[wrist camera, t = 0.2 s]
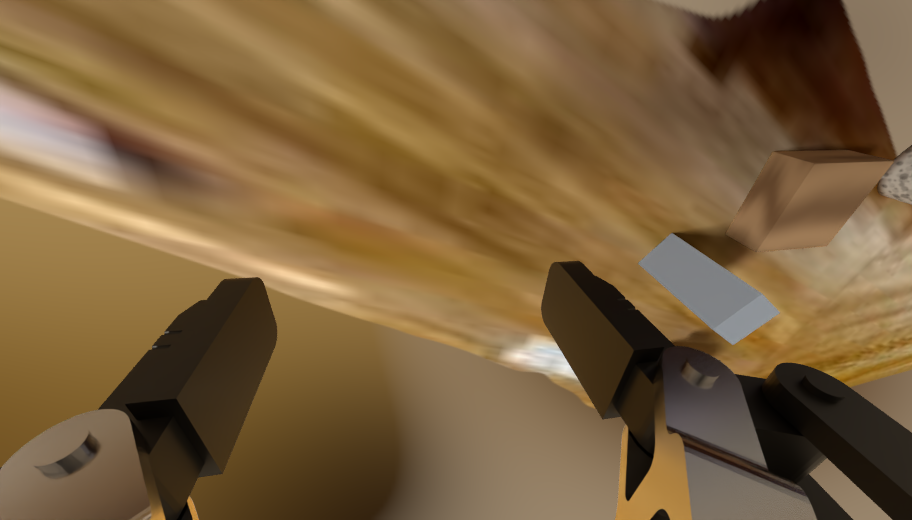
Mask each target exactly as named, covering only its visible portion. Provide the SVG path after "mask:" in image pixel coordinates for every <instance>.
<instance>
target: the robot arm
mask: <svg viewBox="0 0 912 520" xmlns="http://www.w3.org/2000/svg"><path fill="white" fill-rule="evenodd" d="M541 311H542V317H543V321H544V323H545V325H546V327H547V328H548V330H549V331H550V333H551V335H552V336H553V338H554V340H555V341H556V343H557V345H558V346H559V348H560V350H561V351H562V353H563V355H564V356H565V358H566V360H567V361H568V363H569V365H570V366H571V368H572V370H573V371H574V373H575V374H576V376H577V378H578V379H579V381H580V383H581V384H582V386H583V388H584V389H585V391H586V393H587V394H588V396H589V398H590V399H591V401H592V403H593V404H594V406H595V408H596V409H597V411H598V413H599V414H600V416H601V417H602V419H608V418H615V417H622V419H623V420H624V422H625V423H626V425H625V427H624V429H623V432H622V444H621V459H620V475H619V490H618V491H619V492H618V505H617V511H616V517H615V520H853V519H852V518H851V517H850V516H849V515H848V514H847V513H846V512H845V511H844V510H843V509H842V508H841V507H840V506H839V505H838V504H837V502H836V501H835V500H833V498H832V497H831V496H830V495H829V494H828V493H827V492H825V490H824V489H823V488H822V487H821V486H820V485H819V484H818V483H817V482H816V481H815V480H814V479H813V478H812V477H811V476H810V475H809V473H810V472H811V471H813V470H814V469H815V468H816V467H817V466H818V465H820V463H822V462H823V461H824V460H825V459H826V458H828V459H829V460H830V461H831V462H832V463H833V464H834V465H835V466H836V467H837V468H838V469H839V470H841V471H842V472H843V473H844V474H845V475H846V476H847V477H848V478H849V479H850V480H851V481H852V482H853V483H854V484H856V486H857V487H859V488H860V489H861V490H862V491H863V492H864V493H865V494H866V495H867V496H868V497H869V498H870V499H871V500H873V502H875V503H876V504H877V505H878V506H879V507H880V508H881V509H882V510H883V511H884V512H885V513H886V514H887V515H888V516H890V518H891V519H892V520H912V433H911V432H910V431H909V430H907V429H906V428H904V427H903V426H902V425H900V424H899V423H898V422H896V421H895V420H893V419H892V418H891V417H889V416H888V415H887V414H885V413H884V412H883V411H881V410H880V409H878V408H877V407H876V406H874V405H873V404H872V403H870V402H869V401H868V400H866V399H864V398H863V397H862V396H861V395H859V394H858V393H857V392H855V391H854V390H852V389H851V388H850V387H848V386H847V385H845V384H844V383H842V382H841V381H839V380H837V379H836V378H834V377H832V376H830V375H828V374H826V373H824V372H821V371H819V370H817V369H814V368H811V367H808V366H805V365H801V364H796V363H781V364H779V365H777V366H776V368H775V369H774V370H773V371H772V373H771V374H770V375H769V376H768V378H767V379H763V378H757V377H750V376H744V375H737V374H734V373H733V372H732V371H731V370H730V369H729V368H728V367H727V366H726V365H724V364H723V363H722V362H720V361H719V360H717V359H716V358H714V357H712V356H711V355H709V354H706V353H704V352H702V351H699V350H696V349H693V348H689V347H683V346H674V345H673V344H672V343H671V342H670V341H669V340H668V339H667V338H666V337H665V336H664V335H663V334H662V333H661V332H660V331H659V330H658V329H657V328H656V327H655V326H654V325H653V324H652V323H651V322H650V321H649V320H648V319H647V318H646V317H645V316H644V315H643V314H642V313H641V312H640V311H639V310H635V307H634V306H633V305H632V304H631V303H630V302H629V301H628V300H625V297H624V296H623V295H622V294H621V293H620V292H619V291H618V290H617V289H616V288H615V287H614V286H613V285H611V284H609V283H608V282H606V281H604V280H602V279H601V278H599V277H597V276H594V275H593V274H592V272H591V271H590V270H589V269H588V268H587V267H586V266H585V265H584V264H583V263H581V262H580V261H568V262H554V263H553V264H552V265H551V267H550V269H549V274H548V278H547V282H546V287H545V291H544V295H543V300H542V305H541ZM276 340H277V326H276V322H275V318H274V315H273V312H272V308H271V305H270V302H269V299H268V295H267V292H266V289H265V286H264V283H263V281H262V280H261V279H260V278H258V277H255V278H236V279H224V280H223V281H221V282H220V284H219V285H218V286H217V288H216V289H215V290H214V292H213V293H212V294H211V295H210V296H209V298H208V299H207V300H201V301H199V302H197V303H196V304H194V305H193V306H191V307H190V308H188V309H187V310H185V311H184V312H183V313H181V314H180V315H178V316H177V318H176V319H175V320H174V321H173V322H172V324H171V325H170V326H169V327H168V328H167V329H166V331H165V334H164V335H161V336H160V338H159V339H158V340H157V341H156V342H155V343H154V345H153V346H152V350H149V351H148V352H147V353H146V354H145V355H144V356H143V357H142V359H141V360H140V361H139V362H138V363H137V365H136V366H135V367H134V368H133V369H132V370H131V372H130V373H129V374H128V375H127V376H126V377H125V379H124V380H123V381H122V382H121V383H120V384H119V385H118V387H117V388H116V389H115V390H114V391H113V393H112V394H111V395H110V396H109V397H108V398H107V400H106V401H105V402H104V403H103V404H102V405H101V407H100V408H99V409H98V410H95V411H91V412H87V413H84V414H81V415H78V416H75V417H72V418H70V419H68V420H65V421H63V422H61V423H59V424H57V425H55V426H53V427H51V428H50V429H48V430H46V431H44V432H43V433H41V434H40V435H38V436H37V437H35V438H34V439H32V440H31V441H30V442H28V443H27V444H26V445H24V446H23V447H22V448H21V449H19V450H18V451H17V452H16V453H15V454H14V455H13V456H12V457H11V458H10V459H9V460H8V461H7V462H6V463H5V464H4V465H3V467H1V468H0V520H199V519H198V516H197V512H196V509H195V506H194V503H193V501H192V499H191V498H190V496H189V495H190V493H191V491H192V489H193V487H194V485H195V482H196V481H197V478H198V477H204V476H211V475H218V474H223V471H224V469H225V466H226V464H227V462H228V459H229V457H230V455H231V452H232V450H233V447H234V445H235V442H236V440H237V438H238V435H239V433H240V430H241V428H242V426H243V423H244V421H245V418H246V416H247V413H248V411H249V409H250V406H251V404H252V401H253V399H254V396H255V394H256V391H257V389H258V387H259V384H260V382H261V379H262V377H263V374H264V372H265V370H266V367H267V365H268V363H269V360H270V358H271V355H272V353H273V350H274V348H275V345H276Z"/></svg>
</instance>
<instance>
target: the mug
mask: <svg viewBox="0 0 912 520" xmlns="http://www.w3.org/2000/svg"><path fill="white" fill-rule="evenodd" d="M877 190H878V193H879V194H881V195H883V196H886V197H889V198H893V199H896V200H899V201H902V202H905V203H908V204H912V145H911V146H910V147H908V148H907V149H906V150H904V151H903V152H902V153H901V154H900V155H898V157H897V158H896V159H895V160H894V163H893V164H892V165H891V166H890V168H889V169H888V170H887V171H886V173H885V174H884V175H883V176H882V178H881V179H880V180H879V183H878V187H877Z"/></svg>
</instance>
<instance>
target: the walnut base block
mask: <svg viewBox="0 0 912 520" xmlns="http://www.w3.org/2000/svg"><path fill="white" fill-rule="evenodd" d="M893 163H894V161H892V160H888V159H884V158H880V157H876V156H871V155H867V154H863V153H859V152H855V151H851V150H813V151H774V152H772V154H771V155H770V157H769V159H768V161H767V162H766V164H765V166H764V168H763V169H762V171H761V173H760V175H759V176H758V178H757V180H756V181H755V183H754V185H753V187H752V188H751V190H750V192H749V194H748V195H747V197H746V199H745V201H744V202H743V204H742V206H741V208H740V209H739V211H738V213H737V215H736V216H735V218H734V220H733V221H732V223H731V225H730V227H729V228H728V230H727V232H726V234H725V235H727V236H729V237H731V238H732V239H734V240H736V241H738V242H739V243H741V244H743V245H745V246H746V247H748V248H750V249H751V250H753V251H755V252H765V251H776V250H788V249H799V248H810V247H822V246H827V245H828V244H829V243H830V241H831V240H832V239H833V238H834V236H835V235H836V234H837V233H838V231H839V230H840V229H841V228H842V226H843V225H844V224H845V223H846V221H847V220H848V219H849V218H850V216H851V215H852V214H853V213H854V211H855V210H856V209H857V208H858V206H859V205H860V204H861V203H862V201H863V200H864V199H865V198H866V196H867V195H868V194H869V193H870V191H871V190H872V189H873V188H874V186H875V185H876V184H877V183H878V181H879V180H880V179H881V178H882V176H883V175H884V174H885V173H886V171H887V170H888V169H889V168H890V166H891V165H892V164H893Z"/></svg>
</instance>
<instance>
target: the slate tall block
mask: <svg viewBox="0 0 912 520" xmlns="http://www.w3.org/2000/svg"><path fill="white" fill-rule="evenodd" d="M638 264H639V265H640V266H641V267H643V268H644V269H645V270H646V271H647V272H648V273H649V274H650V275H652V276H653V277H654V278H655V279H656V280H657V281H658V282H660V283H661V284H662V285H663V286H664V287H665V288H666V289H667V290H669V291H670V292H671V293H672V294H673V295H674V296H675V297H676V298H678V299H679V300H680V301H681V302H682V303H683V304H684V305H685V306H687V307H688V308H689V309H690V310H691V311H692V312H693V313H694V314H696V315H697V316H698V317H699V318H700V319H701V320H702V321H704V322H705V323H706V324H707V325H708V326H709V327H710V328H711V329H713V330H714V331H715V332H716V333H718V334H719V335H720V336H722V337H723V338H724V339H726V340H727V341H728V342H730V343H731V344H732V345H734V344H735V343H737V342H738V341H740V340H741V339H743V338H744V337H746V336H747V335H748V334H750V333H751V332H753V331H754V330H756V329H757V328H759V327H760V326H762V325H763V324H764V323H766V322H767V321H769V320H770V319H772V318H773V317H775V316H776V315H778V314H779V313H780V312H779V311H778V310H777V309H776V308H775V307H774V306H773V305H772V304H771V303H770V302H769V301H768V299H767V298H766V297H765V296H764V295H763V294H762V293H760V292H759V291H757V290H756V289H754V288H753V287H751V286H750V285H748V284H747V283H745V282H744V281H742V280H741V279H739V278H738V277H737V276H735V275H734V274H732V273H731V272H729V271H728V270H726V269H725V268H723V267H722V266H720V265H719V264H717V263H716V262H714V261H713V260H711V259H710V258H708V257H707V256H705V255H704V254H702V253H701V252H700V251H698V250H697V249H695V248H694V247H692V246H691V245H689V244H688V243H686V242H685V241H683V240H682V239H680V238H679V237H677V236H676V235H674V234H673V233H671V234H670V235H669V236H668V237H667V238H666V239H665V240H663V241H662V242H661V243H660V244H659V245H658V246H657V247H656V248H654V249H653V250H652V251H651V252H650V253H649V254H648V255H647V256H646V257H644V258H643V259H642V260H641V261H640V262H639V263H638Z"/></svg>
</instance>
